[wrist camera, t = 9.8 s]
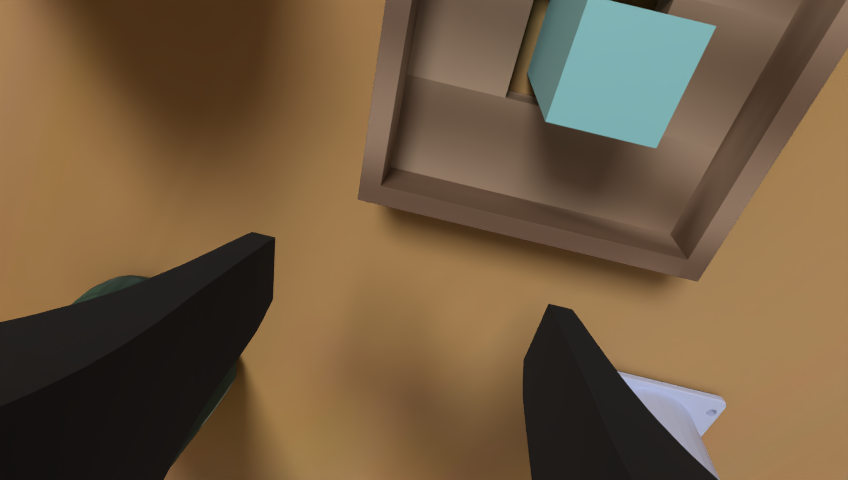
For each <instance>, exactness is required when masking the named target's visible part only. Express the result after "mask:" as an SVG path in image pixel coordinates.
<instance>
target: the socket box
mask: <svg viewBox="0 0 848 480" xmlns="http://www.w3.org/2000/svg"><path fill="white" fill-rule="evenodd" d="M533 1H534V0H386V2H385V10H384V17H383V24H382V31H381V38H380V45H379V52H378V59H377V66H376V73H375V80H374V87H373V94H372V102H371V109H370V116H369V123H368V130H367V137H366V144H365V151H364V158H363V165H362V172H361V179H360V186H359V194H358V200H362V201H366V202H370V203H374V204H379V205H383V206H387V207H391V208H395V209H399V210H403V211H408V212H412V213H416V214H420V215H424V216H428V217H432V218H437V219H441V220H445V221H449V222H453V223H457V224H461V225H466V226H470V227H474V228H478V229H482V230H486V231H490V232H495V233H499V234H503V235H507V236H511V237H515V238H519V239H524V240H528V241H532V242H536V243H540V244H544V245H548V246H553V247H557V248H561V249H565V250H569V251H573V252H577V253H582V254H586V255H590V256H594V257H598V258H602V259H606V260H611V261H615V262H619V263H623V264H627V265H631V266H635V267H640V268H644V269H648V270H652V271H656V272H660V273H664V274H669V275H673V276H677V277H681V278H685V279H689V280H693V281H698V280H699V279H700V277H701V276H702V274H703V273H704V271H705V269H706V268H707V266H708V265H709V263H710V262H711V260H712V259H713V257H714V255H715V254H716V252H717V251H718V249H719V248H720V246H721V245H722V243H723V241H724V240H725V238H726V237H727V235H728V234H729V232H730V230H731V229H732V227H733V226H734V224H735V223H736V221H737V220H738V218H739V216H740V215H741V213H742V212H743V210H744V209H745V207H746V206H747V204H748V202H749V201H750V199H751V198H752V196H753V195H754V193H755V192H756V190H757V188H758V187H759V185H760V184H761V182H762V181H763V179H764V178H765V176H766V174H767V173H768V171H769V170H770V168H771V167H772V165H773V164H774V162H775V160H776V159H777V157H778V156H779V154H780V153H781V151H782V150H783V148H784V146H785V145H786V143H787V142H788V140H789V139H790V137H791V136H792V134H793V132H794V131H795V129H796V128H797V126H798V125H799V123H800V122H801V120H802V118H803V117H804V115H805V114H806V112H807V111H808V109H809V108H810V106H811V104H812V103H813V101H814V100H815V98H816V97H817V95H818V93H819V92H820V90H821V89H822V87H823V86H824V84H825V83H826V81H827V79H828V78H829V76H830V75H831V73H832V72H833V70H834V69H835V67H836V65H837V64H838V62H839V61H840V59H841V58H842V56H843V55H844V53H845V51H846V50H847V48H848V0H658V2H657V5H656V7H655V9H654V11H656V12H660V13H664V14H668V15H673V16H677V17H681V18H685V19H689V20H693V21H697V22H702V23H706V24H710V25H714V26H716V28H715V30H714V32H713V34H712V36H711V38H710V40H709V42H708V44H707V46H706V48H705V50H704V52H703V54H702V56H701V59H700V61H699V63H698V65H697V67H696V69H695V71H694V73H693V75H692V77H691V79H690V81H689V83H688V85H687V87H686V89H685V91H684V93H683V95H682V97H681V99H680V101H679V103H678V105H677V107H676V109H675V111H674V113H673V115H672V117H671V119H670V122H669V124H668V126H667V128H666V130H665V132H664V134H663V136H662V138H661V140H660V142H659V144H658V146H657V148H652V147H648V146H644V145H640V144H635V143H631V142H627V141H623V140H619V139H615V138H611V137H606V136H602V135H598V134H594V133H590V132H586V131H582V130H578V129H573V128H569V127H565V126H561V125H557V124H553V123H549V122H545V119H544V117H543V114H542V111H541V109H540V106H539V103H538V101H537V98H536V97H534V96H530V95H526V94H522V93H518V92H513V91H509V90H508V87H509V83H510V80H511V76H512V73H513V69H514V66H515V63H516V59H517V56H518V52H519V49H520V45H521V42H522V39H523V35H524V32H525V28H526V25H527V21H528V18H529V15H530V11H531V8H532V4H533Z"/></svg>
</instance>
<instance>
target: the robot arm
mask: <svg viewBox="0 0 848 480" xmlns="http://www.w3.org/2000/svg"><path fill="white" fill-rule="evenodd" d="M274 255H275V237H271V236H266V235H262V234H258V233H254V232H251V233H249V234H246V235H244V236H242V237H240V238H238V239H236V240H233V241H231V242H229V243H227V244H225V245H223V246H221V247H219V248H217V249H215V250H213V251H211V252H209V253H206V254H204V255H202V256H200V257H198V258H196V259H194V260H192V261H189V262H187V263H185V264H183V265H181V266H178V267H176V268H173V269H171V270H169V271H166V272H164V273H161V274H159V275H157V276H154V277H152V278H150V279H147V280H145V281H142V282H140V283H137V284H134V285H132V286H129V287H126V288H123V289H121V290H118V291H115V292H112V293H109V294H105V295H102V296H99V297H96V298H93V299H90V300H87V301H83V302H80V303H76V304H72V305H68V306H65V307H61V308H57V309H53V310H50V311H46V312H42V313H39V314H35V315H31V316H26V317H22V318H17V319H13V320H8V321H4V322H0V480H164V478H165V476H166V474H167V472H168V470H169V468H170V467H171V465H172V463H173V461H174V459H175V457H176V455H177V453H178V452H179V450H180V448H181V446H182V444H183V443H184V441H185V439H186V437H187V435H188V434H189V432H190V430H191V428H192V427H193V425H194V423H195V421H196V419H197V418H198V416H199V414H200V413H201V411H202V410H203V408H204V407H205V405H206V404H207V402H208V400H209V399H210V398H211V396H212V395H213V393H214V392H215V390H216V389H217V388H218V386H219V385H220V383H221V382H222V380H223V379H224V378H225V376H226V375H227V373H228V372H229V370H230V369H231V368H232V366H233V365H234V363H235V362H236V360H237V359H238V358H239V356H240V355H241V353H242V352H243V350H244V349H245V347H246V346H247V345H248V343H249V342H250V340H251V339H252V337H253V336H254V334H255V333H256V331H257V329H258V328H259V326H260V324H261V322H262V320H263V318H264V316H265V314H266V312H267V310H268V308H269V306H270V304H271V302H272V300H273V282H274ZM523 404H524V413H525V423H526V432H527V441H528V449H529V458H530V467H531V476H532V480H720V479H719V476H718V474H717V472H716V470H715V468H714V465H713V463H712V461H711V459H710V457H709V454H708V452H707V450H706V448H705V446H704V443H703V441H702V439H701V436H702V435H703V434H704V433H705V432H706V430H707V429H708V428H709V427H710V426H711V424H712V423H713V422H714V421H715V420H716V418H717V417H718V416H719V415H720V414H721V412H722V411H723V410H724V409H725V407H726V403H725V401H724V399H723V398H722V397H720V396H718V395H713V394H709V393H705V392H701V391H697V390H693V389H689V388H685V387H681V386H676V385H672V384H668V383H664V382H660V381H656V380H652V379H648V378H643V377H639V376H635V375H631V374H627V373H623V372H619V371H617V370H616V369H615V368H614V366H613V365H612V364H611V362H610V361H609V360H608V358H607V357H606V356H605V354H604V353H603V351H602V350H601V349H600V347H599V346H598V345H597V343H596V342H595V340H594V339H593V338H592V336H591V335H590V333H589V332H588V331H587V329H586V328H585V326H584V325H583V323H582V322H581V321H580V319H579V318H578V317H577V315H576V314H575V313H574V311H573V310H572V309H568V308H564V307H560V306H556V305H551V304H548V307H547V309H546V311H545V313H544V316H543V318H542V320H541V322H540V325H539V327H538V329H537V331H536V334H535V336H534V338H533V340H532V343H531V345H530V347H529V349H528V352H527V354H526V356H525V358H524V365H523Z"/></svg>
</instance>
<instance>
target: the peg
mask: <svg viewBox="0 0 848 480" xmlns="http://www.w3.org/2000/svg"><path fill="white" fill-rule="evenodd" d="M715 28H716V26H714V25H710V24H706V23H702V22H697V21H693V20H689V19H685V18H681V17H677V16H673V15H668V14H664V13H660V12H656V11H652V10H648V9H643V8H639V7H635V6H631V5H627V4H623V3H618V2H614V1H610V0H550V1H549V4H548V7H547V10H546V14H545V17H544V20H543V23H542V26H541V30H540V33H539V36H538V39H537V43H536V46H535V49H534V52H533V56H532V59H531V62H530V65H529V68H528V72H527V74H528V77H529V80H530V82H531V85H532V88H533V90H534V93H535V95H536V98H537V101H538V103H539V106H540V109H541V111H542V114H543V117H544V119H545V122H549V123H553V124H557V125H561V126H565V127H569V128H573V129H578V130H582V131H586V132H590V133H594V134H598V135H602V136H606V137H611V138H615V139H619V140H623V141H627V142H631V143H635V144H640V145H644V146H648V147H652V148H657V146H658V144H659V142H660V140H661V138H662V136H663V134H664V132H665V130H666V128H667V126H668V124H669V122H670V119H671V117H672V115H673V113H674V111H675V109H676V107H677V105H678V103H679V101H680V99H681V97H682V95H683V93H684V91H685V89H686V87H687V85H688V83H689V81H690V79H691V77H692V75H693V73H694V71H695V69H696V67H697V65H698V63H699V61H700V59H701V56H702V54H703V52H704V50H705V48H706V46H707V44H708V42H709V40H710V38H711V36H712V34H713V32H714V30H715Z"/></svg>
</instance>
